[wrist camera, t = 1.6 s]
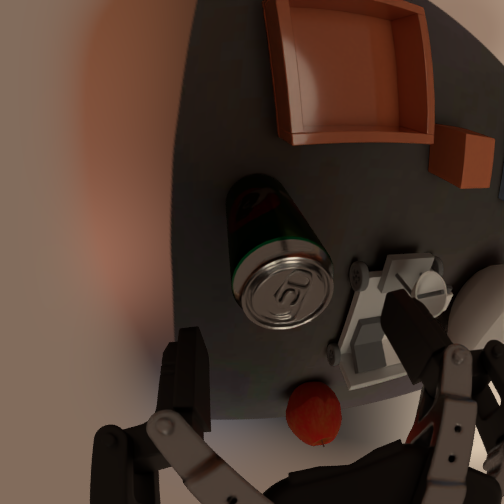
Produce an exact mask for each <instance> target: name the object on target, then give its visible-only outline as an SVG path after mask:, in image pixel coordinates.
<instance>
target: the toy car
mask: <svg viewBox="0 0 504 504" xmlns="http://www.w3.org/2000/svg"><path fill="white" fill-rule="evenodd" d="M443 270H444V269H443V263H442V261H441V259H440V258H439V257H437V256H433V255H432V254H431V253H430V252H428V253H411V254H394V255H387V258H386V261H385V265H384V268H383V271H373V272H369V270H368V267H367V265H366V264H365V263H364V262H362V261H358V262H354V263H353V264H352V265H351V267H350V272H349V278H350V284H351V286H352V288H353V290H354V291H355V293H354V297H353V300H352V303H351V306H350V310H349V313H348V316H347V319H346V322H345V325H344V328H343V331H342V334H341V337H340V339H339V342H338V344H337V343H332V344H329V345H328V347H327V358H328V362H329V364H330V365H331V366H337V365H339V367H340V369H341V372H342V374H343V377H344V380H345V382H346V385H347V387H348V390H353V389H357V388H362V387H366V386H369V385H373V384H377V383H381V382H384V381H388V380H391V379H395V378H398V377H401V376H404V375H407V373H406V371H405V369H404V367H403V365H402V363H401V362H400V360H399V358H398V356H397V354H396V353H395V351H394V349H393V347H392V346H391V344H390V342H389V340H388V339H387V337H386V335H385V334H384V332H383V330H382V328H381V324H380V317H381V313H382V309H383V305H384V301H385V297H386V294H387V293H388V292H391V291H395V290H398V289H405V290H406V291H407V293H408V294H409V295H410V297H411V298H413V297H415V298H416V299H418V300H419V301H421V302H422V303H423V304H424V305H425V306H426V307H427V309H428V310H429V311H430V313H431V314H432V315H433V317H434V318H435V317H437V316H439V315H440V314H441V313H442V311H445V310H446V309H447V307H448V305H449V303H450V301H451V299H452V297H453V294H452V292H451V290H452V286H450V285H447V287H446V285H445V282H444V280H443V279H442V275H443Z"/></svg>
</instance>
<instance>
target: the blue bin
mask: <svg viewBox="0 0 504 504" xmlns="http://www.w3.org/2000/svg"><path fill="white" fill-rule="evenodd" d="M498 198H500V199H501V200H503V201H504V165H503V172H502V179H501V185H500V191H499V196H498Z"/></svg>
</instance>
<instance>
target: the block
mask: <svg viewBox="0 0 504 504" xmlns="http://www.w3.org/2000/svg"><path fill="white" fill-rule="evenodd" d="M494 146H495V139H494V138H491V137H488V136H485V135H483V134H480V133H477V132H474V131H471V130H467V129H464V128H460V127H454V126H448V125H441V124H435V126H434V144H430V155H429V168H428V171H429V172H430V173H432V174H434V175H436V176H438V177H440V178H442V179H444V180H446V181H448V182H450V183H451V184H453V185H455V186H457V187H459V188H460V189H467V188H489V186H490V180H491V173H492V166H493V157H494Z"/></svg>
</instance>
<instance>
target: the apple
mask: <svg viewBox="0 0 504 504" xmlns="http://www.w3.org/2000/svg"><path fill="white" fill-rule="evenodd" d="M286 420H287V423H288V426H289V427H290V429H291V430H292V432H293V433H294V434H295V435H296V436H297V437H298V438H299V439H300V440H302V441H303V442H305V443H306V444H308V445H311V446H316V445H323V446H324V444H327V443H330V442H331V441H333V440H334V438H335V437H336V435H337V434H338V431H339V428H340V425H341V420H342V416H341V408H340V403H339V401H338V399H337V397H336V395H335V393H334V392H333V391H332V390H331V389H330V388H329V387H328V386H327V385H326V384H324V383H322V382H318V381H313V382H306V383H303V384H301V385H300V386H299V387H297V388H296V389H294V391H293V393H292V394H291V396H290V398H289V402H288V405H287V409H286Z"/></svg>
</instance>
